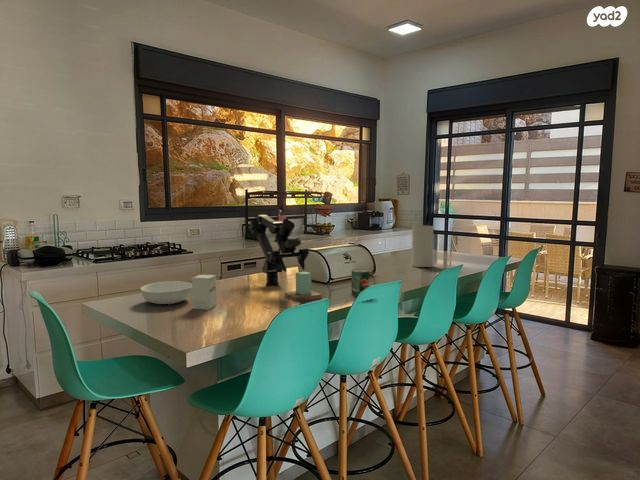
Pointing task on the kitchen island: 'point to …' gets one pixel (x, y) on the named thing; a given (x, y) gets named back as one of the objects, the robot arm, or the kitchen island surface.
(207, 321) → the kitchen island surface
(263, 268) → the robot arm
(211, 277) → the supplement box
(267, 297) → the kitchen island surface
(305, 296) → the walnut board
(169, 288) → the serving bowl
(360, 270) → the canned tomato
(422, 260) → the cylinder vase
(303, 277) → the teal block
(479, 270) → the kitchen island surface
